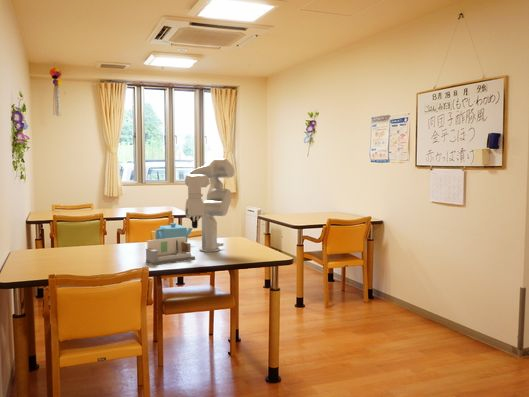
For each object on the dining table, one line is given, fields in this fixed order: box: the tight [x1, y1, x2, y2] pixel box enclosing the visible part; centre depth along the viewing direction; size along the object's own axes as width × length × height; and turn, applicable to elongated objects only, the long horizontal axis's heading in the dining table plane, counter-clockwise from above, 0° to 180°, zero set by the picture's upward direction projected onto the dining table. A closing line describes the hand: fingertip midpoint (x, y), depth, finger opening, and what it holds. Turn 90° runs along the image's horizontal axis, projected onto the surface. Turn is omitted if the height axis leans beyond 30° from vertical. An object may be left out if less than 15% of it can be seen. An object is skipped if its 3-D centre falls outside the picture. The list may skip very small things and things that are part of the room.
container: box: [154, 222, 193, 243], centre depth 333 cm, size 17×25×15 cm
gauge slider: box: [174, 241, 192, 255], centre depth 290 cm, size 8×8×8 cm
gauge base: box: [145, 237, 196, 266], centre depth 286 cm, size 26×10×12 cm, turn 127°
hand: (194, 227), depth 292 cm, fingers closed
